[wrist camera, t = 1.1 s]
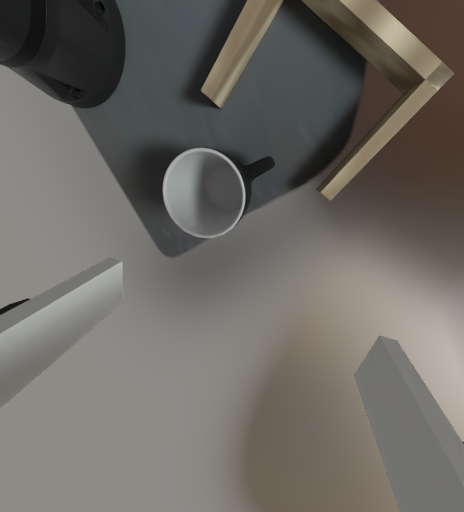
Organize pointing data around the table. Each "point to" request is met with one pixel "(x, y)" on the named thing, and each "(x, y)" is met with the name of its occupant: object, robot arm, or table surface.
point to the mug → (209, 190)
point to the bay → (364, 42)
